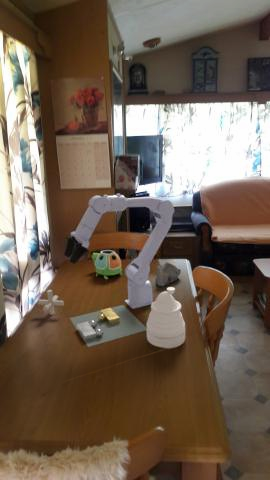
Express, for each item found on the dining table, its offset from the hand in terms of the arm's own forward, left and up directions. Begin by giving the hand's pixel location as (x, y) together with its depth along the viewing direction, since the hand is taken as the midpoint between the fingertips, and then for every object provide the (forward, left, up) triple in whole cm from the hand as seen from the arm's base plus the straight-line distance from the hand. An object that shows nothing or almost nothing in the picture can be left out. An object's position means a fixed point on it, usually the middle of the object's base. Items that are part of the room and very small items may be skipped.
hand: (69, 259), depth 130 cm
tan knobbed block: (-10, +8, -23) cm, 26 cm away
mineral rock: (-48, -11, -24) cm, 54 cm away
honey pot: (-23, +29, -24) cm, 44 cm away
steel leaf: (-1, +14, -23) cm, 27 cm away
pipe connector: (+7, -7, -24) cm, 25 cm away
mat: (-9, +11, -23) cm, 27 cm away
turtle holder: (-27, -36, -24) cm, 51 cm away
